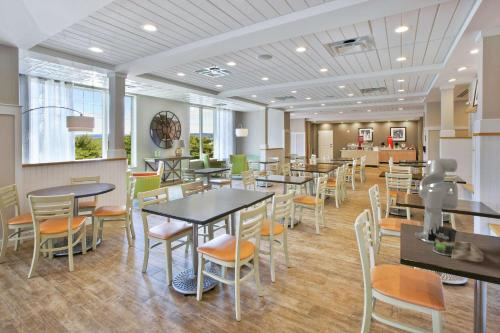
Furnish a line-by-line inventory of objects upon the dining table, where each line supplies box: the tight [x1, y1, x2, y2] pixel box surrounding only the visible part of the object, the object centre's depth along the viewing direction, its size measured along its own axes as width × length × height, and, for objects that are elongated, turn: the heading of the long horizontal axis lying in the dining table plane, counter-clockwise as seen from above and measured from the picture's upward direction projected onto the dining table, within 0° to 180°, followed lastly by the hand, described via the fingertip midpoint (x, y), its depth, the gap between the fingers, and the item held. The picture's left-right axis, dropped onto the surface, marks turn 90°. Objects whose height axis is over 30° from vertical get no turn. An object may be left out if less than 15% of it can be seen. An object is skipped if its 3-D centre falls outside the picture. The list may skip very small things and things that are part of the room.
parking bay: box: [451, 240, 485, 263], centre depth 159 cm, size 14×16×5 cm
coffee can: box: [432, 225, 458, 257], centre depth 161 cm, size 10×10×14 cm
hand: (431, 240), depth 163 cm, fingers closed
